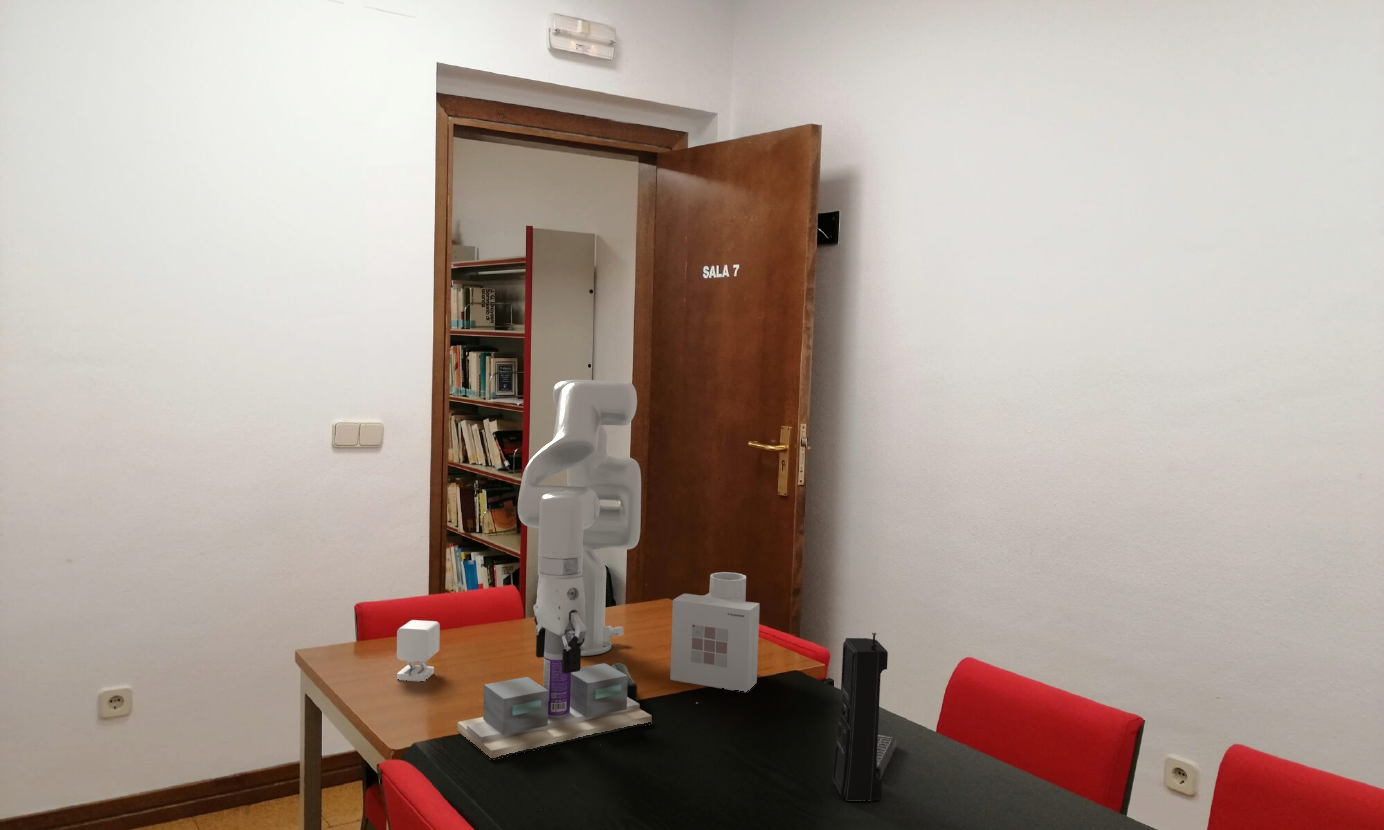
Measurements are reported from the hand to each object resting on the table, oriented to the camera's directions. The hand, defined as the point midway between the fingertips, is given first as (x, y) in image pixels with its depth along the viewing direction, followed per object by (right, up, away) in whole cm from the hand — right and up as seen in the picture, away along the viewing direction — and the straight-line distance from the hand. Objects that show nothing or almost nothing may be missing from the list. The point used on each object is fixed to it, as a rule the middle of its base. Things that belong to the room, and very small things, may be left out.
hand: (557, 663), depth 168 cm
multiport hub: (+53, -14, -9) cm, 55 cm away
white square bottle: (+30, -10, +33) cm, 45 cm away
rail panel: (0, -11, +1) cm, 11 cm away
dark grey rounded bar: (+10, -11, +18) cm, 23 cm away
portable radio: (+48, -14, -20) cm, 54 cm away
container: (0, -9, +1) cm, 9 cm away
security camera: (-31, -9, +25) cm, 41 cm away
